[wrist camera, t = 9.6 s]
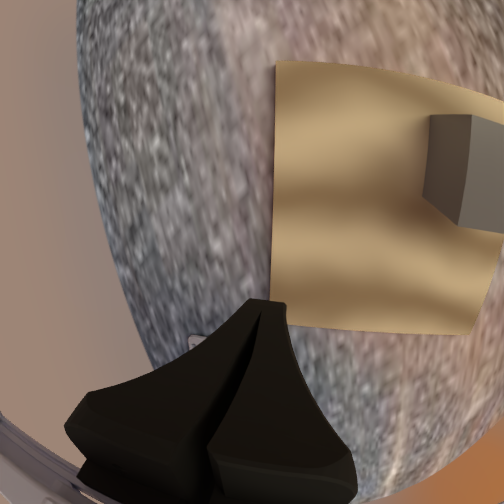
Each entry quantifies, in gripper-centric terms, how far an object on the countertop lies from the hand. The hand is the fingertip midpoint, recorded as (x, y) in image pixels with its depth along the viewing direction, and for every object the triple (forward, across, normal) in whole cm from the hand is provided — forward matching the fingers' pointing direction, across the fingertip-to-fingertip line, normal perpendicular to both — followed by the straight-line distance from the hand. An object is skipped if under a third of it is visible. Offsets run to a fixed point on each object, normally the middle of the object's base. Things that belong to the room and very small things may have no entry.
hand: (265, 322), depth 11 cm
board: (+10, -7, -2) cm, 13 cm away
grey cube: (+10, -11, -6) cm, 16 cm away
